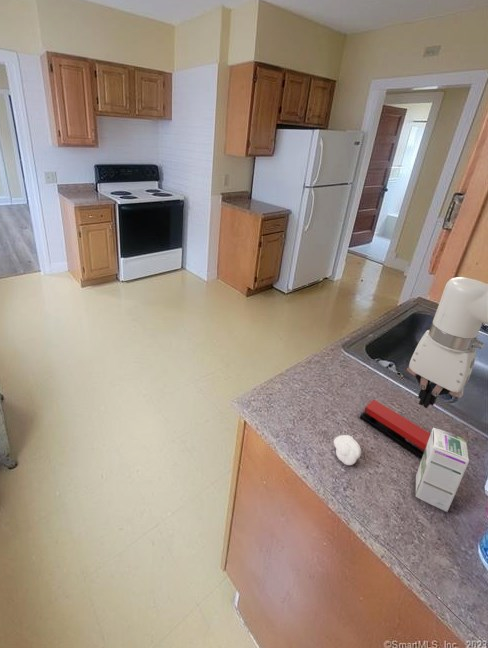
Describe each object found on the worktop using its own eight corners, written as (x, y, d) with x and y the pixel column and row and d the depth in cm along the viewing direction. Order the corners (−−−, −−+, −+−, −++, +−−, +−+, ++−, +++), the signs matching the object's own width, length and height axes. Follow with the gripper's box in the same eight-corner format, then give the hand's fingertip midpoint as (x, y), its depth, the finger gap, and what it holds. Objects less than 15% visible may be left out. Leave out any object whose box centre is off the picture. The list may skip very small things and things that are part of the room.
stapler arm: (435, 443, 76) (437, 437, 75) (427, 453, 73) (430, 447, 73) (371, 404, 87) (373, 398, 86) (363, 411, 84) (365, 406, 84)
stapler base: (434, 451, 77) (437, 445, 76) (426, 463, 74) (429, 456, 73) (368, 409, 88) (370, 403, 88) (359, 418, 86) (361, 412, 85)
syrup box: (448, 513, 64) (472, 461, 58) (413, 497, 67) (433, 446, 61) (446, 489, 68) (468, 439, 63) (413, 474, 71) (432, 425, 66)
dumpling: (364, 466, 73) (366, 457, 71) (342, 471, 73) (344, 462, 71) (348, 436, 79) (350, 427, 77) (328, 441, 79) (329, 432, 76)
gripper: (501, 347, 64) (469, 417, 70) (419, 315, 74) (397, 378, 81) (491, 361, 59) (457, 434, 66) (405, 325, 70) (384, 391, 77)
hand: (424, 403), depth 74 cm, fingers closed
